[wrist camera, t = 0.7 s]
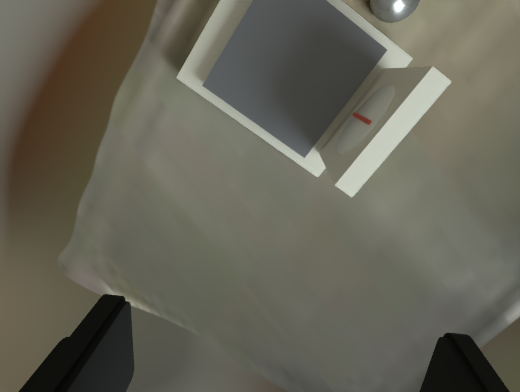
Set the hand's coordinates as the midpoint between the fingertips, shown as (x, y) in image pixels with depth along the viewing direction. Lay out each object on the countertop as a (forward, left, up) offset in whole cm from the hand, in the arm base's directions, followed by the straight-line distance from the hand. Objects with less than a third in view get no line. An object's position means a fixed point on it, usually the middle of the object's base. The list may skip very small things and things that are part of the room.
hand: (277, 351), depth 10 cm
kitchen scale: (-7, -4, -27) cm, 28 cm away
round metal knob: (-17, 0, -27) cm, 32 cm away
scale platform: (-7, -4, -26) cm, 27 cm away
